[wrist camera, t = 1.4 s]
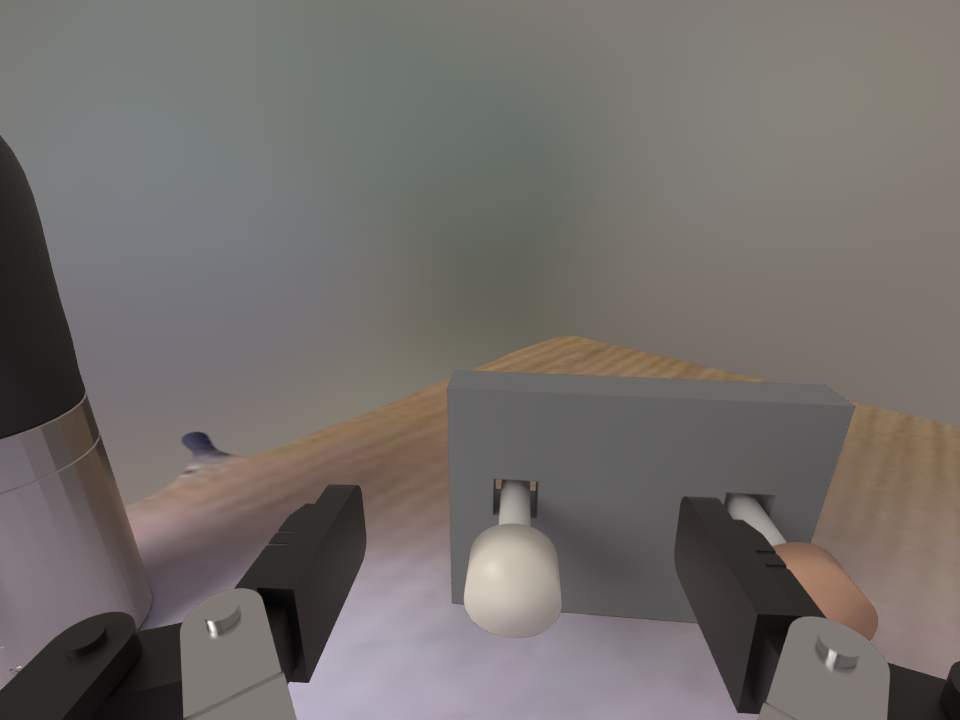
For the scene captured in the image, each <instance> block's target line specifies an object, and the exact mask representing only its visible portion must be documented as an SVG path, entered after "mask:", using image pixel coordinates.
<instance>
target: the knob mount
mask: <svg viewBox="0 0 960 720" xmlns="http://www.w3.org/2000/svg"><path fill="white" fill-rule="evenodd" d="M447 397H448V445H449V492H450V540H451V587H452V603H454V604H464V592H465V585H466V578H467V571H468V564H469V557H470V551H471V547H472V545H473V542H474V541H475V539H476V538H477V537H478V536H479V535H480V534H481V533H482V532H484V531H485V530H487V529H489V528H491V527H493V526H496V525H499V513H500V499H501V489H495V487H496V479H505V480H522V481H536V491H530V518H531V527H533V528H535V529H537V530H539V531H540V532H542V533H543V534H544V535H546V536H547V537H548V538H549V539H550V540H551V542H552V543H553V545H554V547H555V549H556V551H557V556H558V566H559V578H560V589H561V601H562V607H561V612H567V613H579V614H592V615H604V616H617V617H629V618H641V619H654V620H666V621H679V622H691V623H698V621H697V619H696V617H695V615H694V612H693V610H692V608H691V606H690V603H689V601H688V599H687V596H686V594H685V592H684V590H683V587H682V585H681V583H680V580H679V578H678V575H677V572H676V567H675V560H674V549H675V541H676V533H677V525H678V518H679V510H680V503H681V500H682V498H683V497H684V496H689V497H716V498H718V499H719V500H720V501H721V502H722V504H723V505H724V502H725V497H726V493H727V492H728V493H745V494H753V496H754V497H755V499H756V500H757V501H758V503H759V504H760V506H761V507H762V508H763V510H764V511H765V513H766V514H767V515H768V517H769V518H770V520H771V521H772V522H773V524H774V525H775V527H776V528H777V529H778V531H779V532H780V534H781V535H782V536H783V538H784V539H785V541H786V542H787V543H789V542H803V543H809V544H810V543H811V540H812V537H813V533H814V530H815V527H816V524H817V521H818V518H819V515H820V512H821V509H822V506H823V503H824V500H825V497H826V494H827V491H828V488H829V485H830V482H831V479H832V476H833V473H834V470H835V467H836V464H837V461H838V458H839V455H840V452H841V449H842V445H843V442H844V439H845V436H846V433H847V430H848V427H849V424H850V421H851V418H852V415H853V412H854V409H855V405H853V404H852V403H850V402H849V401H848V400H846V399H844V398H843V397H842V396H840V395H839V394H837V393H836V392H835V391H833V390H832V389H830V388H828V387H827V386H826V385H815V384H814V385H813V384H790V383H765V382H740V381H715V380H690V379H665V378H640V377H615V376H590V375H565V374H540V373H515V372H490V371H463V370H454V372H453V374H452V377H451V380H450V382H449V385H448V388H447Z"/></svg>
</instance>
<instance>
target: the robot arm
mask: <svg viewBox="0 0 960 720" xmlns="http://www.w3.org/2000/svg"><path fill="white" fill-rule="evenodd" d="M365 549H366V529H365V520H364V510H363V500H362V492H361V488H360V486H358V485H331V484H330V485H328V486H327V487H326V489H325V490H324V492H323V493H322V495H321V496H320V497H319V499H318V500H317V502H316V503H315V504H305V505H304V506H303V507H301V508H300V509H298V510H297V511H295V512H294V513H293V514H291V515H290V516H289V517H288V518H287V519H286V521H285V522H284V523H283V525H282V526H281V527H280V529H279V530H278V534H277V533H276V534H275V535H274V537H273V538H272V539H271V541H270V542H269V546H266V547H265V549H264V550H263V551H262V553H261V554H260V555H259V557H258V558H257V559H256V561H255V562H254V563H253V565H252V566H251V567H250V568H249V570H248V571H247V572H246V574H245V575H244V576H243V578H242V579H241V580H240V582H239V583H238V584H237V586H236V587H235V588H234V589H231V590H226V591H223V592H220V593H218V594H215V595H213V596H211V597H209V598H207V599H206V600H204V601H203V602H201V603H200V604H198V605H197V606H196V607H195V608H194V609H193V610H192V611H191V612H190V613H189V614H188V615H187V617H186V618H185V619H184V621H183V622H182V623H178V624H173V625H168V626H164V627H159V628H154V629H149V630H144V631H140V632H138V631H137V630H138V629H139V628H140V626H141V625H142V623H143V622H144V620H145V618H146V617H147V615H148V613H149V610H150V607H151V605H152V592H151V589H150V586H149V583H148V580H147V577H146V574H145V570H144V567H143V564H142V561H141V558H140V555H139V551H138V548H137V545H136V542H135V539H134V535H133V532H132V529H131V526H130V523H129V520H128V517H127V514H126V511H125V508H124V505H123V502H122V499H121V496H120V493H119V490H118V487H117V484H116V481H115V478H114V474H113V472H112V468H111V465H110V463H109V459H108V456H107V453H106V450H105V447H104V444H103V441H102V438H101V435H100V432H99V430H98V427H97V424H96V421H95V418H94V415H93V412H92V408H91V405H90V402H89V400H88V396H87V393H86V391H85V387H84V384H83V381H82V378H81V375H80V371H79V368H78V364H77V359H76V355H75V350H74V346H73V341H72V337H71V334H70V330H69V327H68V323H67V320H66V317H65V313H64V310H63V307H62V304H61V300H60V297H59V293H58V289H57V285H56V282H55V278H54V274H53V270H52V267H51V262H50V258H49V253H48V249H47V245H46V241H45V237H44V233H43V229H42V225H41V221H40V217H39V214H38V210H37V207H36V203H35V200H34V196H33V193H32V191H31V188H30V186H29V183H28V181H27V178H26V175H25V173H24V171H23V169H22V167H21V165H20V163H19V162H18V160H17V158H16V156H15V154H14V153H13V151H12V150H11V148H10V147H9V146H8V145H7V143H6V142H5V141H4V139H3V138H2V137H1V136H0V689H1V690H0V720H297V719H296V715H295V711H294V708H293V704H292V700H291V696H290V693H289V689H288V683H289V682H302V683H309V681H310V679H311V677H312V674H313V672H314V670H315V668H316V665H317V663H318V661H319V659H320V656H321V654H322V652H323V650H324V647H325V645H326V643H327V641H328V638H329V636H330V634H331V632H332V629H333V627H334V625H335V623H336V620H337V618H338V616H339V614H340V611H341V609H342V607H343V605H344V603H345V600H346V598H347V596H348V594H349V591H350V589H351V587H352V585H353V582H354V580H355V578H356V576H357V573H358V571H359V569H360V567H361V564H362V562H363V559H364V555H365ZM674 560H675V567H676V572H677V575H678V578H679V580H680V583H681V585H682V587H683V590H684V592H685V594H686V596H687V599H688V601H689V603H690V606H691V608H692V610H693V612H694V615H695V617H696V619H697V621H698V624H699V626H700V628H701V631H702V633H703V635H704V637H705V640H706V642H707V644H708V647H709V649H710V651H711V653H712V656H713V658H714V660H715V662H716V665H717V667H718V669H719V672H720V674H721V676H722V678H723V681H724V683H725V685H726V688H727V690H728V692H729V694H730V697H731V699H732V701H733V703H734V706H735V708H736V710H737V713H750V714H759V717H758V720H960V661H959V662H956V663H954V664H953V665H952V667H951V669H950V672H949V674H948V677H947V680H944V679H941V678H937V677H934V676H931V675H927V674H924V673H920V672H917V671H914V670H910V669H907V668H903V667H900V666H897V665H894V664H891V663H888V662H887V661H886V660H885V658H884V656H883V655H882V654H881V652H880V651H879V650H878V649H877V648H876V647H875V646H874V645H873V644H872V643H871V642H870V641H868V640H867V639H866V638H865V637H863V636H862V635H860V634H859V633H858V632H856V631H854V630H852V629H851V628H849V627H847V626H845V625H843V624H840V623H838V622H835V621H832V620H829V619H827V618H826V616H825V615H824V614H823V612H822V611H821V610H820V609H819V607H818V606H817V605H816V603H815V602H814V601H813V599H812V598H811V597H810V595H809V594H808V593H807V591H806V590H805V589H804V588H803V586H802V585H801V584H800V582H799V581H798V580H797V578H796V577H795V576H794V574H793V573H792V572H791V570H790V569H787V565H786V564H785V563H784V561H783V560H782V559H781V557H780V556H779V555H776V551H775V549H774V548H773V547H772V546H771V544H770V543H769V542H768V540H767V539H766V538H765V536H764V535H763V534H762V533H760V532H759V531H758V530H756V529H755V528H754V527H752V526H751V525H749V524H748V523H747V522H745V521H744V520H737V519H733V518H732V517H731V515H730V514H729V512H728V511H727V509H726V508H725V507H724V505H723V504H722V502H721V501H720V500H719V499H718V498H716V497H689V496H684V497H683V498H682V500H681V503H680V510H679V518H678V525H677V533H676V541H675V549H674Z"/></svg>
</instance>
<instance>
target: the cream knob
mask: <svg viewBox="0 0 960 720" xmlns="http://www.w3.org/2000/svg"><path fill="white" fill-rule="evenodd" d="M464 605H465V609H466V611H467V613H468V615H469V616H470V618H471V619H472V620H473V621H474V622H475V623H476V624H477V625H478V626H480V627H481V628H482V629H484V630H486V631H488V632H490V633H492V634H495V635H498V636H502V637H508V638H525V637H530V636H534V635H537V634H539V633H542V632H544V631H545V630H547V629H548V628H550V627H551V626H552V625H553V624H554V623H555V621H556V620H557V619H558V617H559V615H560V612H561V607H562V601H561V589H560V578H559V566H558V556H557V551H556V549H555V547H554V545H553V543H552V542H551V540H550V539H549V538H548V537H547V536H546V535H544V534H543V533H542V532H540V531H539V530H537V529H535V528H533V527H531V518H530V481H522V480H505V479H502V486H501V499H500V513H499V525H496V526H493V527H491V528H489V529H487V530H485V531H484V532H482V533H481V534H480V535H479V536H478V537H477V538H476V539H475V541H474V542H473V545H472V547H471V551H470V557H469V564H468V571H467V578H466V585H465V592H464Z"/></svg>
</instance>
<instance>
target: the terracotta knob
mask: <svg viewBox="0 0 960 720" xmlns="http://www.w3.org/2000/svg"><path fill="white" fill-rule="evenodd" d="M724 507H725V508H726V509H727V511H728V512H729V514H730V515H731V517H732V518H733V519H737V520H744V521H745V522H747V523H748V524H749V525H751V526H752V527H754V528H755V529H756V530H758V531H759V532H760V533H762V534H763V535H764V536H765V538H766V539H767V540H768V542H769V543H770V544H771V546H772V547H773V548H774V549H775V551H776V555H779V556H780V557H781V559H782V560H783V561H784V563H785V564H786V565H787V569H790V570H791V572H792V573H793V574H794V576H795V577H796V578H797V580H798V581H799V582H800V584H801V585H802V586H803V588H804V589H805V590H806V591H807V593H808V594H809V595H810V597H811V598H812V599H813V601H814V602H815V603H816V605H817V606H818V607H819V609H820V610H821V611H822V612H823V614H824V615H825V616H826V618H827V619H829V620H832V621H835V622H838V623H840V624H843V625H845V626H847V627H849V628H851V629H852V630H854V631H856V632H858V633H859V634H860V635H862V636H863V637H865V638H866V639H867V640H868V641H870V640H871V639H872V637H873V636H874V634H875V632H876V629H877V626H878V616H877V612H876V610H875V608H874V607H873V605H872V604H871V603H870V601H869V600H868V599H867V598H866V596H865V595H864V594H863V593H862V592H861V590H860V589H859V588H858V587H857V585H856V584H855V583H854V582H853V580H852V579H851V578H850V577H849V575H848V574H847V573H846V572H845V571H844V569H843V568H842V567H841V566H840V564H839V563H838V562H837V561H836V559H835V558H834V557H833V556H832V555H831V554H830V553H829V552H828V551H826V550H825V549H823V548H821V547H819V546H817V545H814V544H809V543H803V542H789V543H787V542H786V541H785V539H784V538H783V536H782V535H781V534H780V532H779V531H778V529H777V528H776V527H775V525H774V524H773V522H772V521H771V520H770V518H769V517H768V515H767V514H766V513H765V511H764V510H763V508H762V507H761V506H760V504H759V503H758V501H757V500H756V499H755V497H754V496H753V494H745V493H728V492H727V493H726V497H725V502H724Z"/></svg>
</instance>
